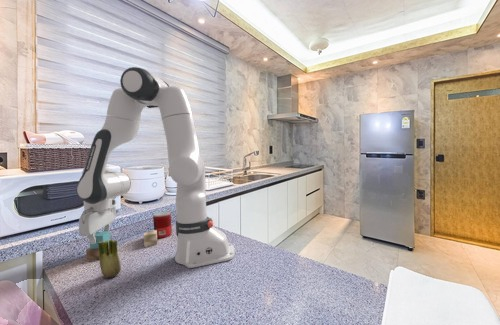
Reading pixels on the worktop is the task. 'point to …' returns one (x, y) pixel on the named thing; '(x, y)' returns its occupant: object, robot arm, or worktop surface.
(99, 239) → the teal cube
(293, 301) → the worktop surface
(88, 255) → the walnut slab
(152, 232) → the birch cube
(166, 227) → the canned food
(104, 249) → the fennel bulb
